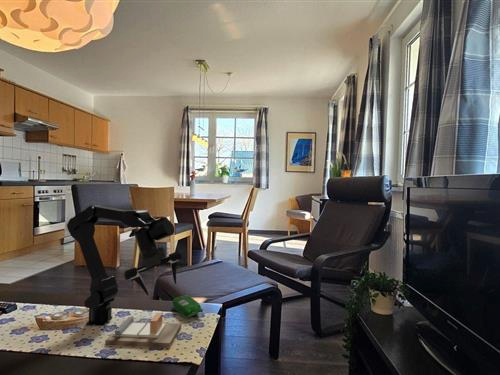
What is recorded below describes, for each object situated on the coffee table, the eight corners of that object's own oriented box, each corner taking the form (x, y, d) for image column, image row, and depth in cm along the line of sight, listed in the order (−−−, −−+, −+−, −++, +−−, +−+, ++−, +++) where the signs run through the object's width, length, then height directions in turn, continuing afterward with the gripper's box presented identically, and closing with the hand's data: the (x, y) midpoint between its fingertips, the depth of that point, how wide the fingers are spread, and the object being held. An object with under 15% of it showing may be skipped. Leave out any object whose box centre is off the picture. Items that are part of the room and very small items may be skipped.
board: (105, 344, 91) (105, 340, 91) (124, 325, 104) (124, 321, 104) (169, 347, 91) (169, 343, 91) (181, 327, 104) (181, 323, 104)
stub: (138, 337, 94) (139, 321, 94) (148, 325, 102) (148, 311, 102) (157, 337, 93) (157, 322, 93) (165, 326, 101) (165, 311, 101)
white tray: (111, 337, 93) (111, 330, 93) (125, 323, 103) (125, 316, 103) (136, 338, 93) (136, 331, 93) (148, 324, 103) (148, 317, 103)
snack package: (185, 323, 108) (186, 308, 108) (170, 307, 121) (170, 295, 121) (203, 318, 112) (204, 304, 112) (186, 304, 125) (187, 292, 125)
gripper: (115, 255, 91) (131, 305, 89) (175, 233, 97) (191, 279, 95) (120, 255, 101) (134, 300, 99) (173, 236, 107) (188, 277, 106)
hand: (162, 289), depth 100 cm, fingers open, 9 cm apart
